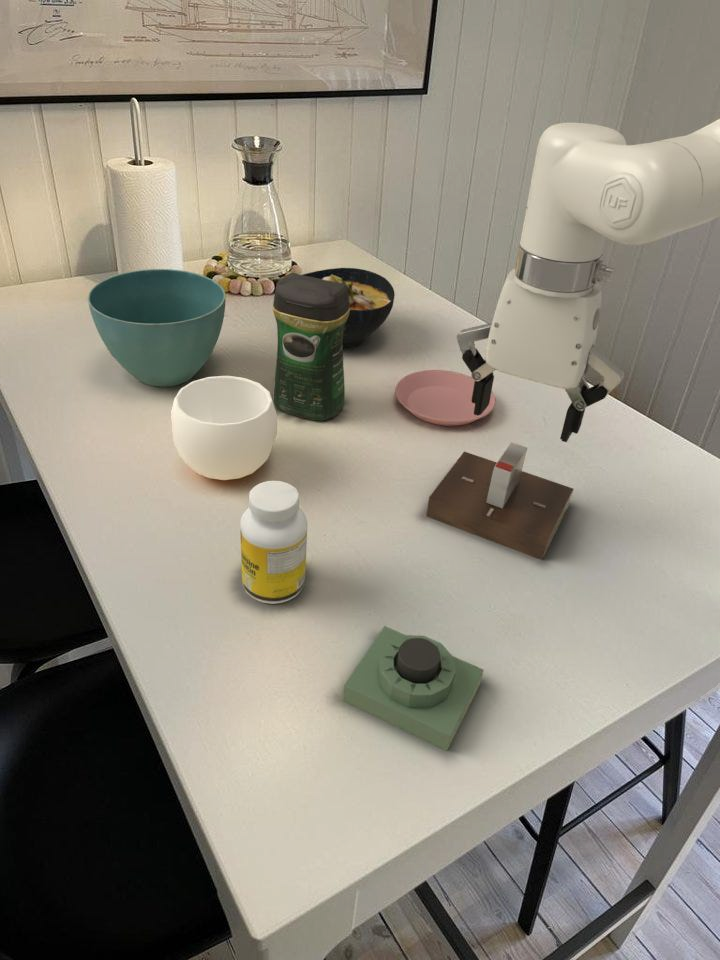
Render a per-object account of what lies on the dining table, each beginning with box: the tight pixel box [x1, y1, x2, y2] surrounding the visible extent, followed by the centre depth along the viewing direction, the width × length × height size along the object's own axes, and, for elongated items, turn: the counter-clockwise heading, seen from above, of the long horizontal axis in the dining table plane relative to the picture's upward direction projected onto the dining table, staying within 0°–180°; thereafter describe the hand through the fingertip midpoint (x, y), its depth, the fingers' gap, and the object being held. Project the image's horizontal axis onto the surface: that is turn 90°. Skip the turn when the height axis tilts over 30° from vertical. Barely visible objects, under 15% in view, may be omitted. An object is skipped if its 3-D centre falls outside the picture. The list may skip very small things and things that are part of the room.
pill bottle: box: [239, 480, 308, 605], centre depth 74 cm, size 6×6×12 cm
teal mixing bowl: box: [87, 268, 227, 388], centre depth 106 cm, size 18×18×12 cm
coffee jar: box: [272, 271, 350, 422], centre depth 100 cm, size 10×8×19 cm
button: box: [397, 638, 440, 683], centre depth 65 cm, size 4×4×2 cm
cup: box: [170, 375, 278, 481], centre depth 90 cm, size 12×12×10 cm
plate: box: [394, 369, 496, 427], centre depth 108 cm, size 14×14×2 cm
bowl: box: [302, 267, 396, 350], centre depth 120 cm, size 17×17×10 cm
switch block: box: [342, 625, 484, 752], centre depth 66 cm, size 10×8×4 cm
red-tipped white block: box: [486, 442, 528, 508], centre depth 86 cm, size 6×2×5 cm, turn 152°
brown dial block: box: [425, 451, 574, 561], centre depth 88 cm, size 14×11×3 cm
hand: (523, 422), depth 81 cm, fingers open, 9 cm apart
